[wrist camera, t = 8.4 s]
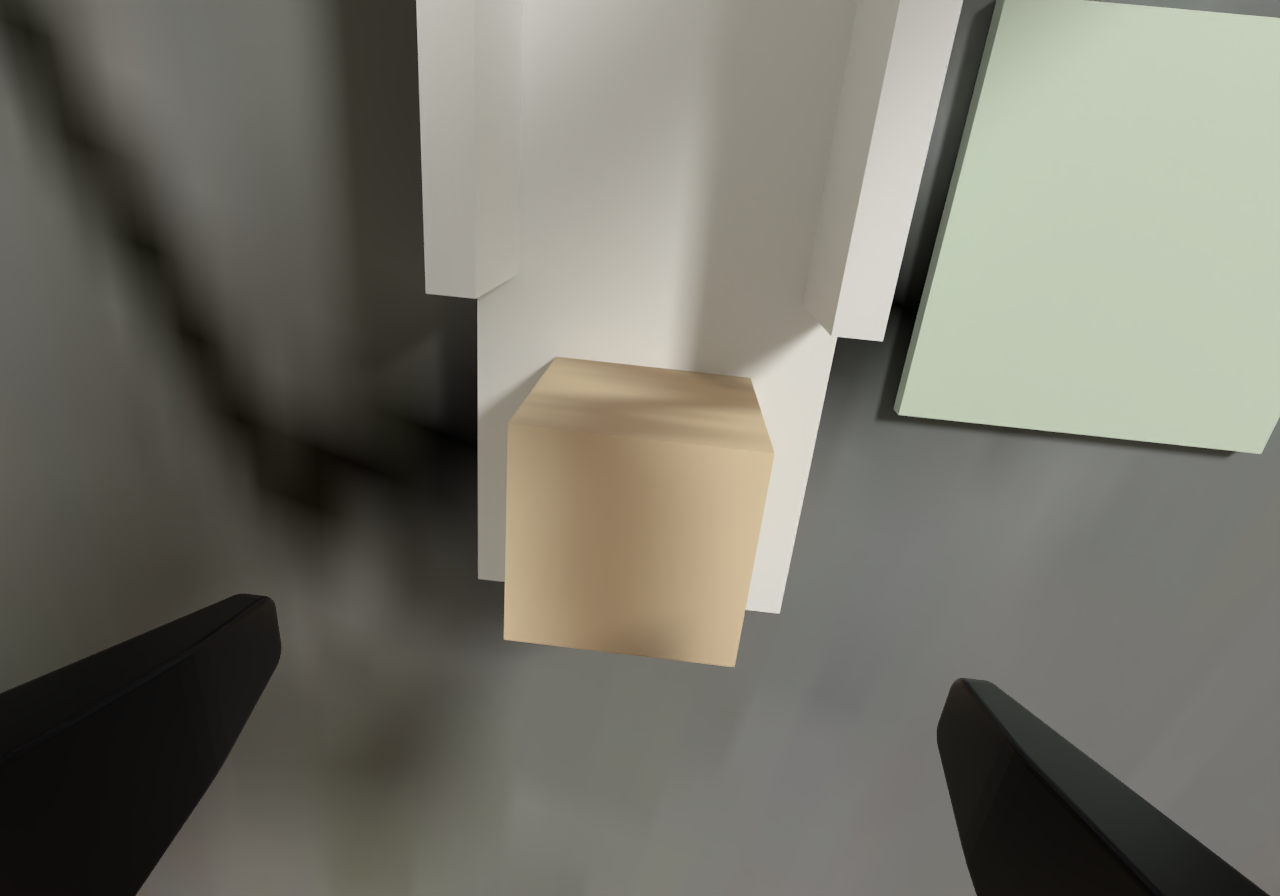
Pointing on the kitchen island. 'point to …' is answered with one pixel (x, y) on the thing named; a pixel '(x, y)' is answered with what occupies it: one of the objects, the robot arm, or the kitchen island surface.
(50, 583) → the kitchen island surface
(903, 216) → the trap channel
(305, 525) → the kitchen island surface
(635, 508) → the maple block
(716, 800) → the kitchen island surface
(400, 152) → the kitchen island surface
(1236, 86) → the sage pad
